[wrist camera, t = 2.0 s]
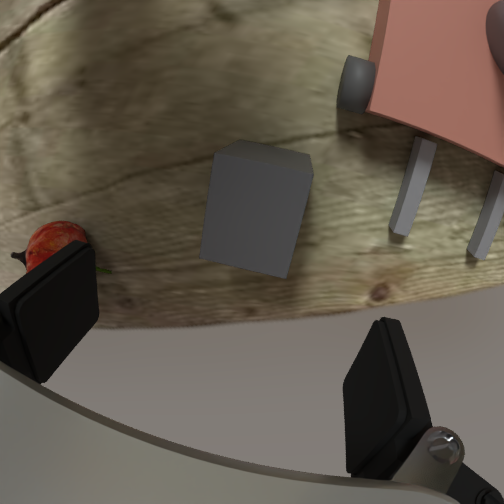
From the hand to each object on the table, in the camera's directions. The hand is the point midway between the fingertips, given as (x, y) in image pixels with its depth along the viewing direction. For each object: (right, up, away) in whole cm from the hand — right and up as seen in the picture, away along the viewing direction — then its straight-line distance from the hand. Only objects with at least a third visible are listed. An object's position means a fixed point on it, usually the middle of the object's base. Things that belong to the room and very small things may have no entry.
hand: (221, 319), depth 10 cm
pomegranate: (-15, +3, +18) cm, 24 cm away
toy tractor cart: (+18, +14, +7) cm, 23 cm away
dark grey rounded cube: (+2, +7, +13) cm, 15 cm away
